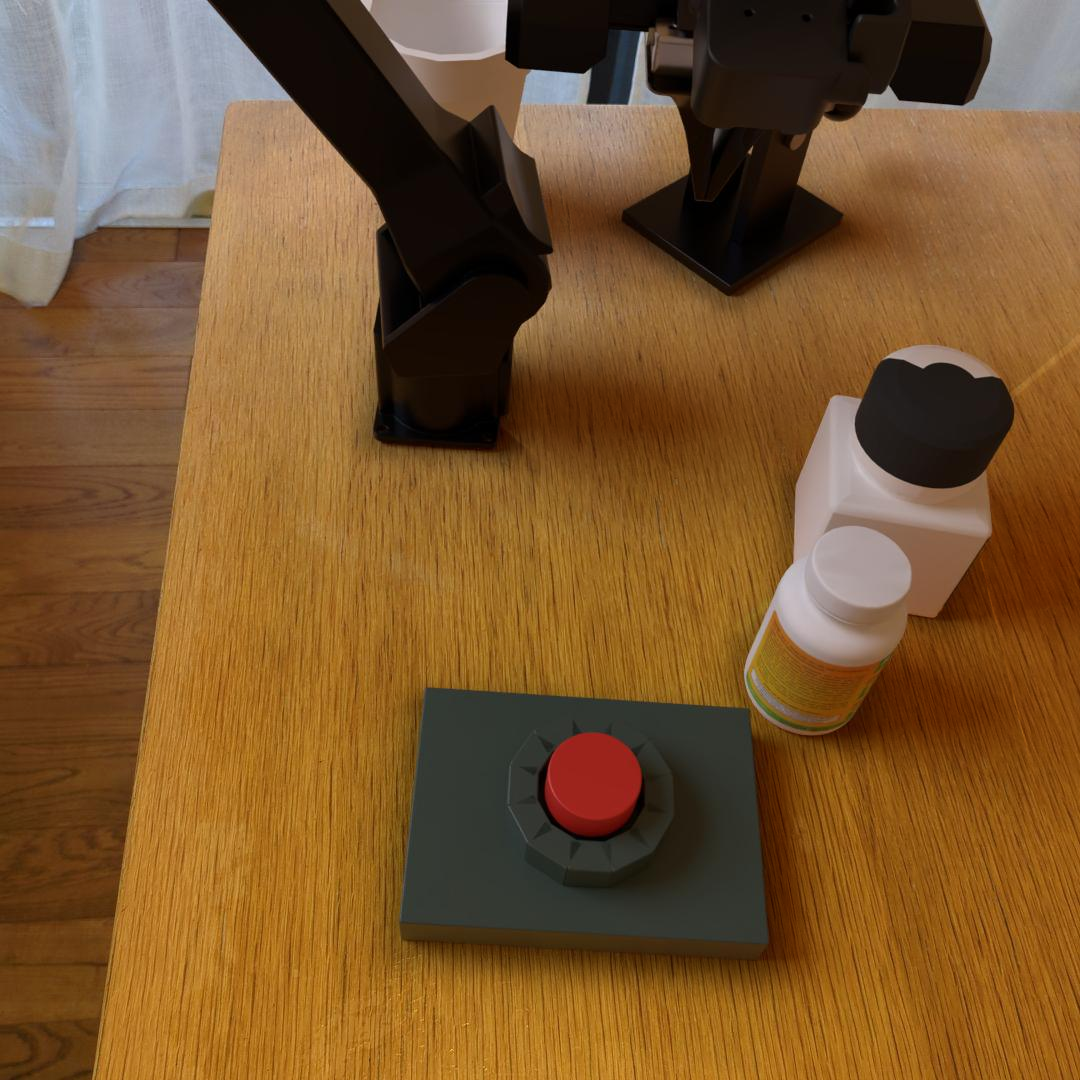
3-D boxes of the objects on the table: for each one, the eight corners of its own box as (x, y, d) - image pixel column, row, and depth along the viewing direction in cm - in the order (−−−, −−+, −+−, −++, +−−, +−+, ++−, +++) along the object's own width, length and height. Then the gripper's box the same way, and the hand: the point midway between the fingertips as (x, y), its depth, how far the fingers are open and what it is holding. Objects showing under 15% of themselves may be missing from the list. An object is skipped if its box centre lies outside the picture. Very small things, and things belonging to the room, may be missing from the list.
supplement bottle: (856, 750, 50) (933, 636, 42) (736, 724, 50) (790, 607, 42) (860, 648, 53) (932, 525, 45) (747, 625, 53) (799, 498, 45)
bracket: (734, 161, 75) (768, 20, 67) (839, 229, 72) (888, 89, 64) (619, 225, 70) (641, 82, 62) (726, 302, 67) (763, 160, 59)
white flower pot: (382, 161, 72) (371, -40, 62) (525, 173, 73) (538, -26, 62) (363, 257, 67) (347, 53, 56) (517, 270, 67) (530, 69, 57)
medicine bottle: (937, 621, 54) (1044, 461, 44) (790, 596, 54) (865, 432, 45) (929, 507, 58) (1026, 338, 49) (793, 485, 58) (862, 312, 49)
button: (542, 834, 43) (546, 817, 41) (545, 748, 45) (549, 728, 43) (636, 840, 43) (643, 823, 41) (635, 754, 45) (641, 734, 43)
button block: (400, 940, 43) (396, 906, 40) (425, 710, 49) (424, 665, 46) (756, 961, 44) (781, 929, 41) (739, 730, 50) (759, 687, 47)
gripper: (506, -96, 34) (489, 298, 46) (1111, -42, 34) (932, 333, 47) (522, -240, 40) (504, 139, 53) (1030, -193, 41) (892, 171, 54)
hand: (703, 195), depth 51 cm, fingers closed
